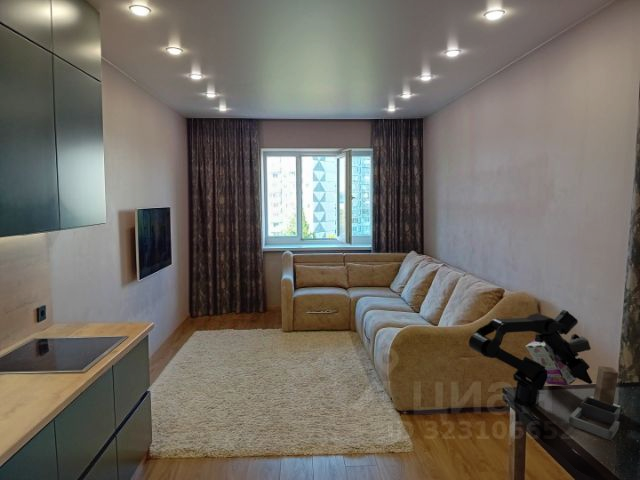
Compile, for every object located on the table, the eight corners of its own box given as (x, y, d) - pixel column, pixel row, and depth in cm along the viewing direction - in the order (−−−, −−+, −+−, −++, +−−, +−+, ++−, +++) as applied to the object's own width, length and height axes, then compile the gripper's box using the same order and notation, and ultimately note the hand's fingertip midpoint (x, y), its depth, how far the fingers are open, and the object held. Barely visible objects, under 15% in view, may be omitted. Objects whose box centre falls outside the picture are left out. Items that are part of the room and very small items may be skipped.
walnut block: (598, 407, 160) (604, 371, 158) (593, 400, 165) (598, 365, 163) (612, 409, 160) (618, 373, 158) (606, 402, 164) (612, 367, 162)
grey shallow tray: (568, 423, 149) (569, 416, 149) (576, 414, 156) (578, 407, 156) (611, 440, 141) (612, 432, 141) (618, 429, 148) (619, 422, 147)
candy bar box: (577, 378, 170) (553, 339, 171) (568, 386, 168) (544, 346, 169) (555, 376, 180) (533, 339, 181) (546, 384, 179) (524, 346, 180)
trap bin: (579, 413, 156) (581, 402, 156) (585, 407, 161) (587, 396, 161) (613, 426, 150) (615, 414, 149) (618, 419, 155) (620, 407, 154)
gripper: (586, 339, 151) (618, 375, 151) (567, 321, 169) (595, 354, 169) (557, 359, 153) (589, 395, 153) (541, 339, 171) (569, 371, 171)
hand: (586, 377), depth 162 cm, fingers open, 8 cm apart
